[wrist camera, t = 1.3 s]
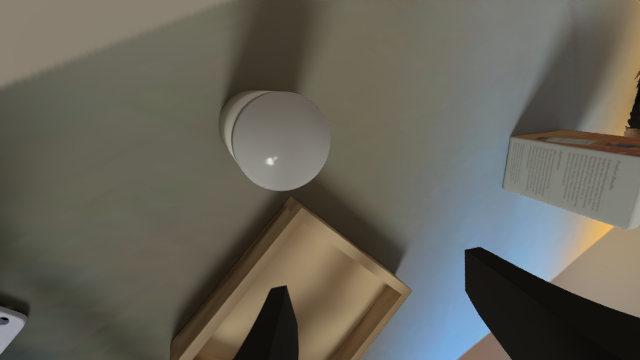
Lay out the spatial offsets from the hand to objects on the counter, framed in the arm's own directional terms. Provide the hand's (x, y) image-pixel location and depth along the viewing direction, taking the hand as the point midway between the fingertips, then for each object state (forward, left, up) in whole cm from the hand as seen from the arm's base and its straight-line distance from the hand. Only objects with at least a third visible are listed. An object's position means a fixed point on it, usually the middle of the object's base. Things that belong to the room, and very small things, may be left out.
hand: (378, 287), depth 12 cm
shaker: (-5, +2, -12) cm, 13 cm away
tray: (+7, -7, -12) cm, 15 cm away
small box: (+19, +18, -12) cm, 29 cm away
